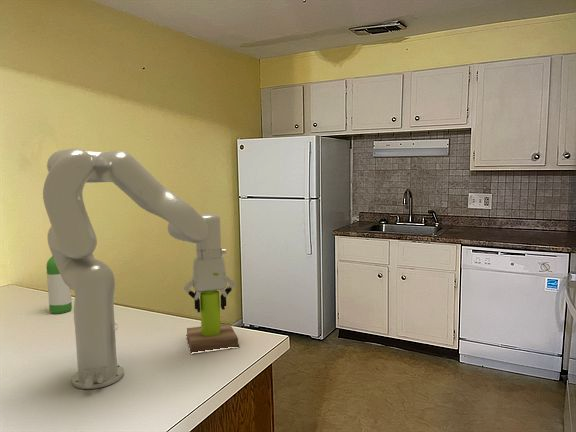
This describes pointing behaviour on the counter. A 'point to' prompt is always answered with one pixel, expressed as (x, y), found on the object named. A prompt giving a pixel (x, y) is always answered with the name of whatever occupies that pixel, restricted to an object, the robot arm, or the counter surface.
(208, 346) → the plinth
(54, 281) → the wine bottle
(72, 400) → the counter surface
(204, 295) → the soap dispenser
